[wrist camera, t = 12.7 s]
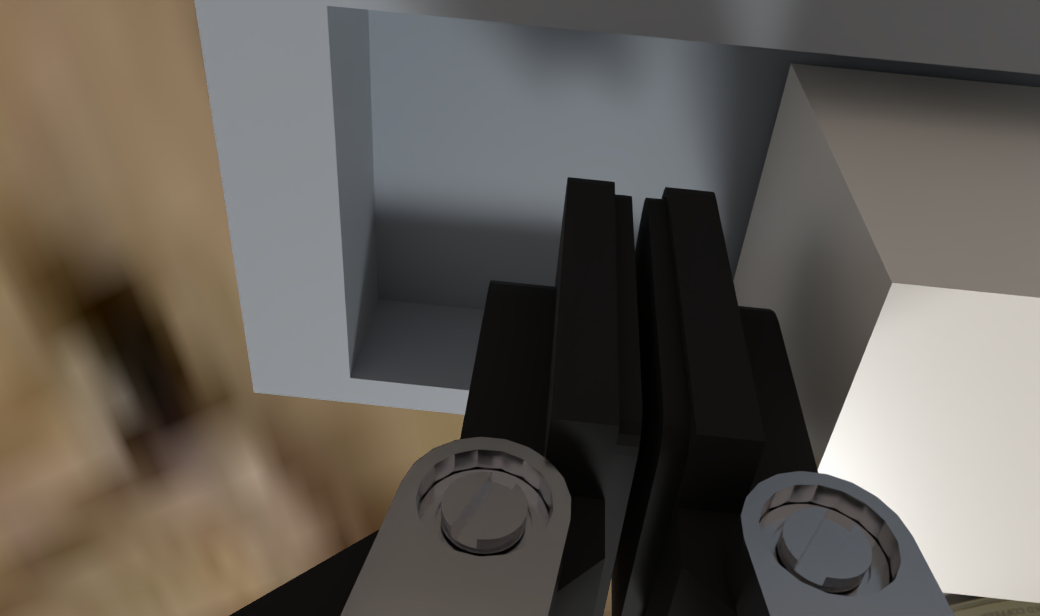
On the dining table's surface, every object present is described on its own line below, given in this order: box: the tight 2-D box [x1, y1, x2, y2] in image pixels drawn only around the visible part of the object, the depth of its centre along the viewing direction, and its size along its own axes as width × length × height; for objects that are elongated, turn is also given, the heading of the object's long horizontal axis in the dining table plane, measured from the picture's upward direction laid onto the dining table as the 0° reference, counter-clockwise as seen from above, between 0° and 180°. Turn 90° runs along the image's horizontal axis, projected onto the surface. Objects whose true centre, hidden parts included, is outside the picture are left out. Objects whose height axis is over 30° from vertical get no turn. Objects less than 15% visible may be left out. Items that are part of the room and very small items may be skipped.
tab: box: [733, 63, 1040, 603], centre depth 11 cm, size 4×4×5 cm
